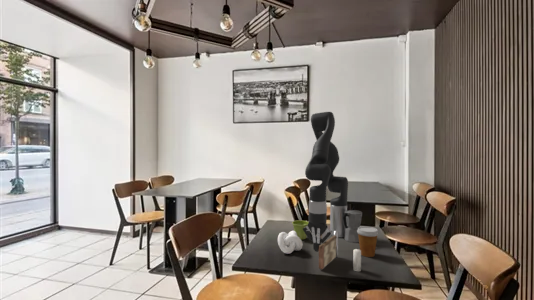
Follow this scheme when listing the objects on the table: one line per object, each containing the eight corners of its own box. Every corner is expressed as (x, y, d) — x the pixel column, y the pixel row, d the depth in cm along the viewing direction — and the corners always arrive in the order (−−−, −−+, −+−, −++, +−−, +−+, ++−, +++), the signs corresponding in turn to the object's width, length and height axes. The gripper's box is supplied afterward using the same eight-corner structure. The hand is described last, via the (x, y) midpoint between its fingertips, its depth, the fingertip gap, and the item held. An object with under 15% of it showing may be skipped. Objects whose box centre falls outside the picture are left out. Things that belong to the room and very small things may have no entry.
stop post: (351, 268, 121) (352, 249, 120) (358, 267, 121) (358, 248, 121) (355, 271, 118) (355, 252, 118) (362, 271, 118) (362, 251, 118)
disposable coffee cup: (364, 259, 130) (364, 232, 130) (352, 251, 139) (353, 227, 139) (382, 257, 133) (383, 231, 132) (370, 250, 142) (370, 225, 142)
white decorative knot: (286, 257, 132) (286, 238, 132) (271, 249, 142) (271, 231, 142) (305, 252, 138) (305, 234, 138) (289, 245, 148) (290, 227, 148)
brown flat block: (333, 256, 132) (333, 235, 132) (336, 256, 131) (336, 235, 131) (318, 268, 119) (318, 245, 119) (322, 269, 118) (322, 245, 118)
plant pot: (310, 241, 155) (310, 225, 154) (292, 241, 155) (292, 224, 155) (308, 235, 164) (308, 220, 164) (291, 235, 164) (291, 220, 164)
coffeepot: (352, 235, 165) (353, 203, 164) (367, 239, 157) (368, 206, 157) (335, 241, 155) (336, 207, 155) (351, 245, 148) (351, 210, 147)
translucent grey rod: (333, 256, 133) (333, 230, 133) (336, 256, 134) (336, 230, 133) (334, 258, 132) (335, 231, 131) (338, 257, 132) (338, 231, 132)
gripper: (299, 210, 123) (299, 250, 124) (330, 214, 117) (329, 257, 118) (306, 207, 130) (305, 245, 131) (335, 210, 123) (334, 251, 124)
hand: (317, 250), depth 124 cm, fingers closed
